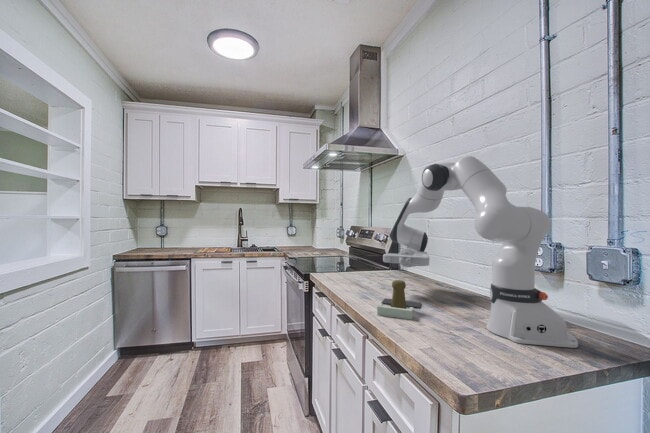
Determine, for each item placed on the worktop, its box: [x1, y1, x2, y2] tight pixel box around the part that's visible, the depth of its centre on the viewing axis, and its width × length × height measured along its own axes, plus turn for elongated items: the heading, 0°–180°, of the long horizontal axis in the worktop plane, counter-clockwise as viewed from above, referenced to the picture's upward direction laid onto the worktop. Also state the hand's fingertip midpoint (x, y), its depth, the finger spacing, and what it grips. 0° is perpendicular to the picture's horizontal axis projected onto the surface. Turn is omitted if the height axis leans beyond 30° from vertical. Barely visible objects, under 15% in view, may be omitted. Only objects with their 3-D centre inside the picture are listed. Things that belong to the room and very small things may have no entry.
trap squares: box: [381, 298, 422, 309], centre depth 119 cm, size 15×7×1 cm, turn 67°
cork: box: [390, 279, 408, 309], centre depth 112 cm, size 6×6×11 cm
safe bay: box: [376, 302, 414, 321], centre depth 105 cm, size 12×4×3 cm, turn 67°
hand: (403, 261), depth 125 cm, fingers closed
